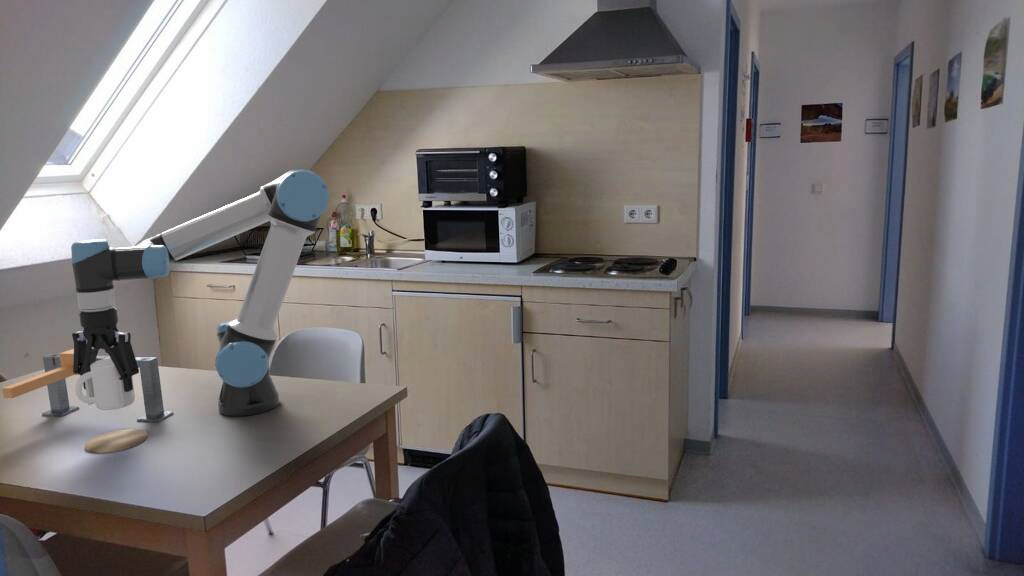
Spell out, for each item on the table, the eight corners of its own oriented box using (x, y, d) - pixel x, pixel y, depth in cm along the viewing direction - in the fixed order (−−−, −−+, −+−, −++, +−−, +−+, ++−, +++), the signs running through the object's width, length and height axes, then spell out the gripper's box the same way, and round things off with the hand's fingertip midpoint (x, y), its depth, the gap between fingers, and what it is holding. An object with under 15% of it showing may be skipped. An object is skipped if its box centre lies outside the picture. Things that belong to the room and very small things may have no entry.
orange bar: (92, 369, 198) (89, 349, 197) (16, 398, 176) (13, 375, 175) (76, 369, 199) (73, 348, 198) (-1, 397, 177) (-5, 375, 176)
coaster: (159, 433, 182) (158, 430, 182) (119, 454, 170) (119, 452, 170) (113, 430, 185) (112, 427, 185) (71, 451, 173) (71, 448, 173)
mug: (83, 417, 169) (77, 373, 167) (73, 408, 175) (67, 366, 173) (140, 404, 177) (134, 361, 175) (129, 396, 183) (123, 355, 181)
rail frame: (173, 414, 195) (166, 356, 192) (157, 422, 190) (150, 362, 187) (60, 407, 204) (52, 352, 201) (42, 415, 198) (33, 358, 195)
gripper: (149, 305, 173) (160, 400, 177) (71, 303, 178) (84, 396, 182) (125, 312, 165) (138, 411, 170) (45, 310, 170) (59, 406, 175)
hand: (110, 403), depth 176 cm, fingers closed on mug, 8 cm apart
